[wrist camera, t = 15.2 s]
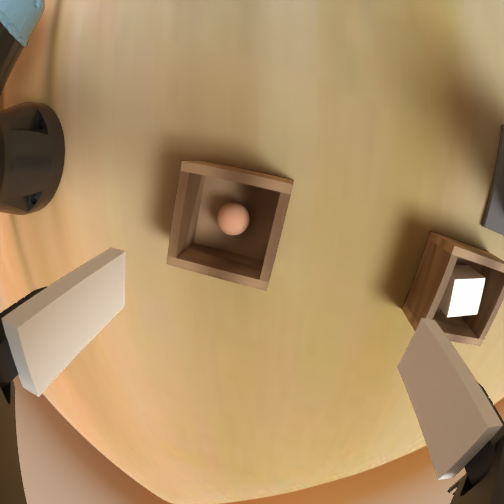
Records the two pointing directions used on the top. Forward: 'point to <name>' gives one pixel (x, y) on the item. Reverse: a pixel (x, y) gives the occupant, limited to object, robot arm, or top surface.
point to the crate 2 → (435, 282)
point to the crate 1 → (209, 234)
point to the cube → (462, 292)
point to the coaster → (496, 195)
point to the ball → (233, 218)
